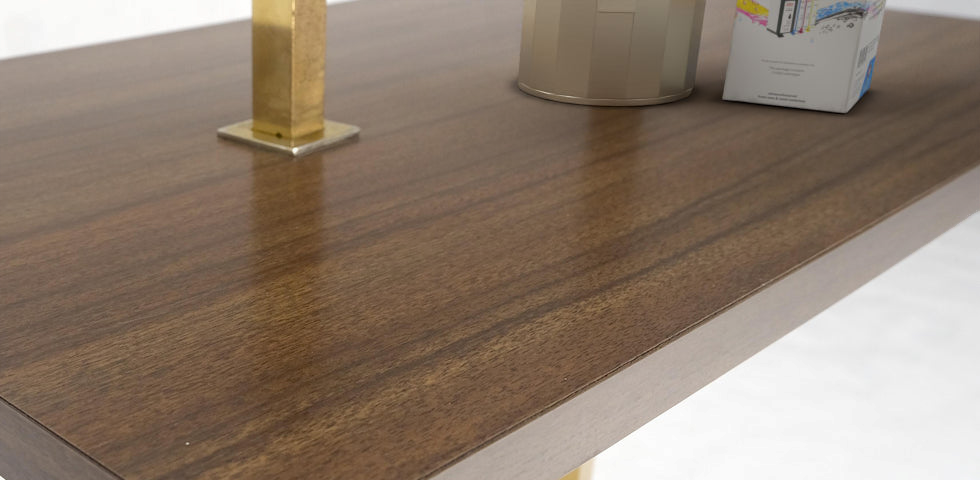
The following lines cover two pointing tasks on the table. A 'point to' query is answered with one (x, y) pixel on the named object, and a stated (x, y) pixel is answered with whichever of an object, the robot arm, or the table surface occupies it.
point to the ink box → (803, 52)
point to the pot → (610, 50)
